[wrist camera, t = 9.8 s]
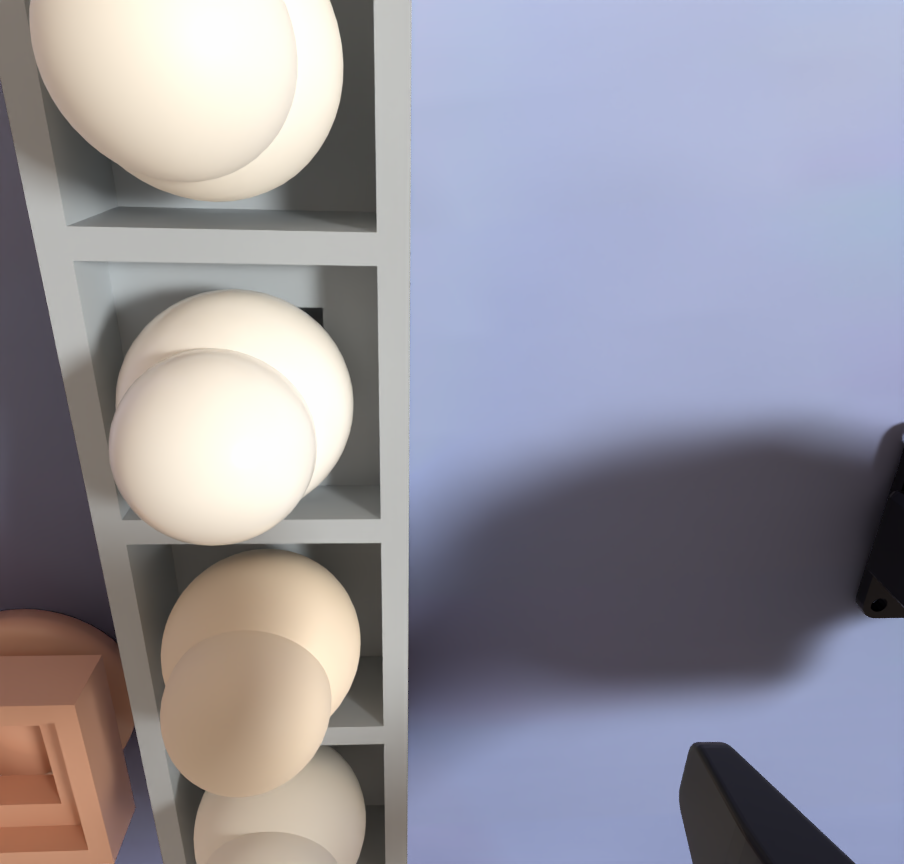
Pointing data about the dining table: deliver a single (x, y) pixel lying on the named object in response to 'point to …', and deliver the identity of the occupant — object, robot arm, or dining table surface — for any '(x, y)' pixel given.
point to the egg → (227, 416)
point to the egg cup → (61, 741)
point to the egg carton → (278, 274)
